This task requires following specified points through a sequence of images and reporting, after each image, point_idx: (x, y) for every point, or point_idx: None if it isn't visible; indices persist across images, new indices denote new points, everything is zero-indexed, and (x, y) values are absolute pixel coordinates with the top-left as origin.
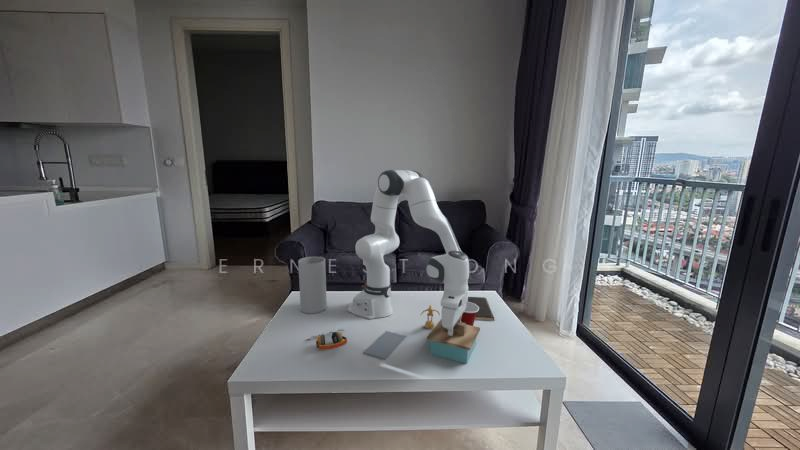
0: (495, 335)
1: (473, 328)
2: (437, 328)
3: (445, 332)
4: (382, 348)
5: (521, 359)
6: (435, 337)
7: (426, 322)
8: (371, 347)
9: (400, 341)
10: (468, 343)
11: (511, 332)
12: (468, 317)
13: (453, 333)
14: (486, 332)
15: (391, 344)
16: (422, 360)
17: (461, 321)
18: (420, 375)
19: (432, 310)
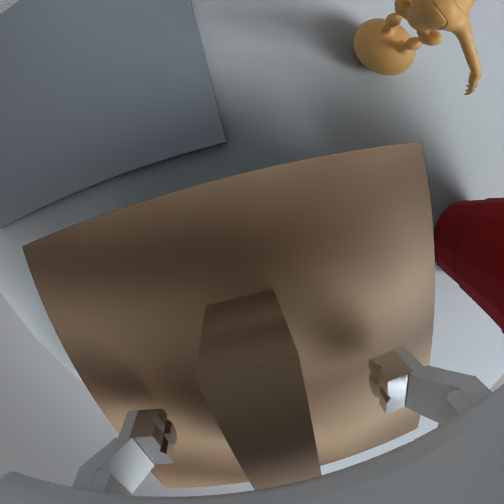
0: (467, 349)
1: (393, 420)
2: (210, 224)
3: (198, 335)
4: (28, 30)
5: (354, 463)
6: (62, 310)
7: (375, 23)
8: (19, 6)
9: (118, 19)
10: (195, 478)
11: (491, 367)
12: (501, 326)
13: (172, 440)
14: (477, 315)
15: (70, 20)
16: (62, 223)
17: (479, 268)
18: (4, 284)
19: (442, 21)
